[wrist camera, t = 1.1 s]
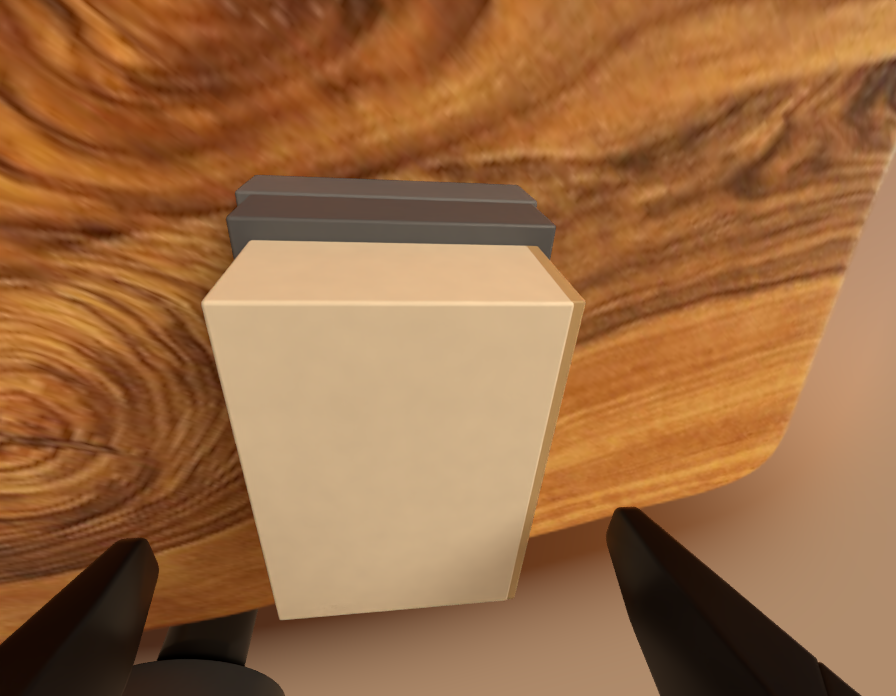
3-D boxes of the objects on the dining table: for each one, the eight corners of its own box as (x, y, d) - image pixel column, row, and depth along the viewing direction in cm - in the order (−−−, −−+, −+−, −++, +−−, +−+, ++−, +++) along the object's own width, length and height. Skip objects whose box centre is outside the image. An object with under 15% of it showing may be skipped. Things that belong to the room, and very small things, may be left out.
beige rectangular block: (492, 509, 15) (514, 600, 12) (297, 521, 14) (278, 622, 11) (537, 244, 10) (587, 302, 8) (248, 239, 9) (197, 301, 7)
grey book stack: (484, 437, 19) (507, 519, 15) (295, 444, 18) (274, 533, 14) (519, 184, 13) (564, 223, 10) (253, 174, 12) (204, 213, 9)
